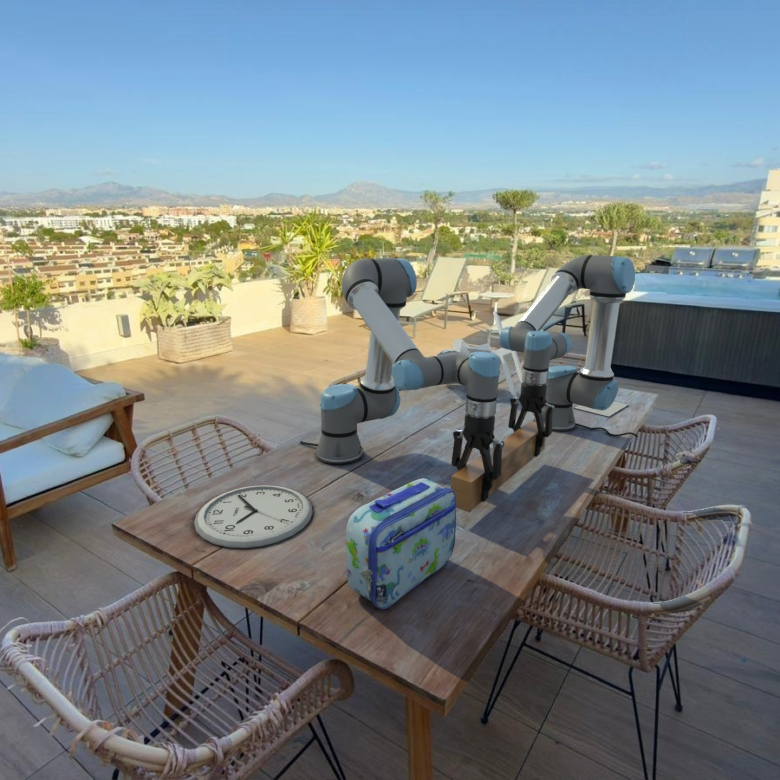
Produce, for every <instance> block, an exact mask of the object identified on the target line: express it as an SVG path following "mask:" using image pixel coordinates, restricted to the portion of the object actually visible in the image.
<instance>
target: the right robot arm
mask: <svg viewBox="0 0 780 780" xmlns="http://www.w3.org/2000/svg"><path fill="white" fill-rule="evenodd" d="M635 282H636V267H635V265H634V262H633V261H632V259H630V258H629V257H625V256H618V255H595V254H594V255H593V254H584V255H583V254H582V255H580V256H577V257H575V258H572V259H571V260H568V261H567V262H566V263H564V264H563V265H562V266H560V267H559V268H558V269H557V270H556V271H555V272H554V273H553V275H552V276H551V277H550V283H549V284H548V285H547V286H546V288H545V289H544V290H543V291H542V292H541V294H540V295H539V296H538V297H537V299H536V300H535V301H534V302H533V303H532V305H531V306H530V307H529V309H527V311H526V312H525V313H524V314H523V316H522V317H521V318H520V319H519V320H518V322H517V323H516V324H515V325H514V326H512V325H511V326H504V327H503V329H502V331H501V333H500V335H499V345H500V347H501V348H505V349H508V350H511V351H516V352H517V353H523V363H522V371H523V372H522V381H523V382H522V383H521V382H520V395H519V396H517V398H516V397H514V396H512V397H511V398H510V400H509V402H510V411H509V412H510V413H509V419H508V428H509V429H512V430H513V433H514V432H515V431H517V430H518V429H519V428H521V427H522V426H523V423H524V420H525V418H526V416H527V413H531V414H533V416H534V422H536V424H537V429H538V434H539V435H538V436H537V437H536V445H535V454H534V458H537V457H538V456H539V455H541V452H540V448H541V447H542V446H543V445H544V439H545V437H546V438H549V437H550V436H551V435H552V431H556V432H567V431H572V430H574V429H575V428H576V426H578V427H581V428H583V429H584V428H585V429H587V430H603V431H604V432H605V433H606V434H607V435H609V436H611V437H622V436H627V435H632V436H634V437H635V438H639V436H638V435H637V434H636V433H634V432H629V431H627V432H622V433H618V434H615V433H611V432H609V430H608V429H606V428H605V427H602V426H598V427H597V426H596V427H591V426H586V425H584V424H580V423H576V418H575V417H576V416H575V413H574V407H573V405H576V406H578V405H581V406H585V407H589V408H592V409H597V410H606V409H608V408H609V407H610V406H611V405H612V403H613V401H614V402H615V399H616V397H617V395H618V391H619V389H620V388H619V387H620V386H619V382H618V381H617V380H616V379H615V378H614V377H615V373H614V372H613V371H612V370H611V366H612V360H613V359H612V358H613V353H614V352H613V351H614V345H615V340H616V331H617V324H618V317H619V310H620V304H621V302H623V300H624V299H626V298H627V297H626V296H627V294H630V292H632V290H633V288H634V286H635ZM582 289H583V290H589V297H590V298H591V299H592V307H591V308H592V309H591V315H590V323H589V324H590V325H589V332H588V339H587V345H586V355H585V362H584V366H583V367H582V368H581V369H579V372H578V368H577V367H576V366H572V365H555V366H554V365H553V366H550V362H551V361H552V360H555V359H558V358H559V359H560V358H562V357H564V356H566V355H568V354H569V353H570V351H571V350H572V347H573V342H572V339H571V337H570V336H569V335H568V334H567V333H565V332H554V333H551V332H549V331H545V330H542V329H543V328H544V327H545V326H546V324H547V323H548V322H549V321H550V320H551V318H552V317H553V315H554V314H555V313H556V312H557V311H558V310H559V308H560V307H561V305H562V304H563V303H564V302H565V301H566V299H567V298H568V297H569V296H571V295H573V294H575V292H576V291H577V290H582ZM519 404H520V406H521V409H520V412H519V415H518V417H517V414H518V409H519V408H518V407H519ZM544 424H545V428H544Z"/></svg>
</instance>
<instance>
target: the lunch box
mask: <svg viewBox="0 0 780 780" xmlns="http://www.w3.org/2000/svg"><path fill="white" fill-rule="evenodd" d="M456 529H457V508H456V496H455V492H454V491H453V489H451V487H443V486H441V485H439V484H438V483H436V482H433V481H432V480H430V479H427V478H423V477H422V478H418V479H416V480H413V481H411V482H409V483H406V484H405V485H402V486H400V487H398V488H396V489H394V490H392V491H390V492H388V493H386V494H383V495H382V496H379V497H378V498H376V499H374V500H372V501H370V502H368V503H366V504H363V505H362V506H360V507H358V508H356V509H355V510H354V511H353V513H351V515H350V517H349V519H348V521H347V524H346V530H345V547H346V549H345V550H346V572H347V573H346V575H347V584H348V587H349V589H350V590H351V591H353V592H355V593H357V594H358V595H361V596H363V597H364V598H365V599H367V600H368V601H369V602H371V604H372V605H373V606H374V607H376V608H377V609H380V610H386V609H389V608H391V607H393V605H395V603H397V602H398V601H399V600H400V599H402V598H403V597H404V596H405V595H408V593H410V592H411V591H412V590H413V589H415V588H416V587H417V586H419V585H420V584H421V583H423V581H424V580H425V579H427V578H428V577H430V576H431V575H433V574H435V573H437V572H438V571H439V570H441V569H442V568H443V567H444V566H446V564H447V563H448V562H449V560H450V559H451V556H452V555H453V552H454V548H455V544H456V531H457V530H456Z"/></svg>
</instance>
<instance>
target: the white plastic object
mask: <svg viewBox="0 0 780 780" xmlns="http://www.w3.org/2000/svg"><path fill="white" fill-rule="evenodd" d="M492 315H493V319H494V321H495V324H496V325H495V326H496V328H497V332H498V335H499V336H500V333H501V331H502V329H503V328H504V327H503V325H502V321H501V318H500V315H499V314H498V312H497V311H496V310H495V311H492ZM451 351H457V352H460V353H461V354H464V355H467V356H470V355H471V354H472V353H474V352H488V353H494V354H496V355H498V357H499V359H500V366H502V370H503V373H504V376H505V380H506V383H507V386H508V390H509V393H510V394H511V395H512V397H516V398H517V397H518V396H517V392H516V391H517V390H516V388H515V385H514V381H513V378H512V375H511V371H510V369H509V365H508V361H510V360H513V363H514V366H515V369H516V372H517V376H518V380H519V382H520V384H521V383H522V382H523V381H522V372H523V367H522V366H521V362H520V359H519V355H518V352H517V351H511V350H508V349H505V348H503V347H500V348H498V349H496V350H495V349H493V348H492V347H491V346H490V344H489V343H488V342H487V343H483V344H479V345H473V346H469V345H468V343H466V342H465V340H464V339H463V338H460V339H458V338H454V340H453V344H452V349H451ZM458 384H459V383H448V384H444V385H445V386H449V385H458ZM459 385H460V384H459Z"/></svg>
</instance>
